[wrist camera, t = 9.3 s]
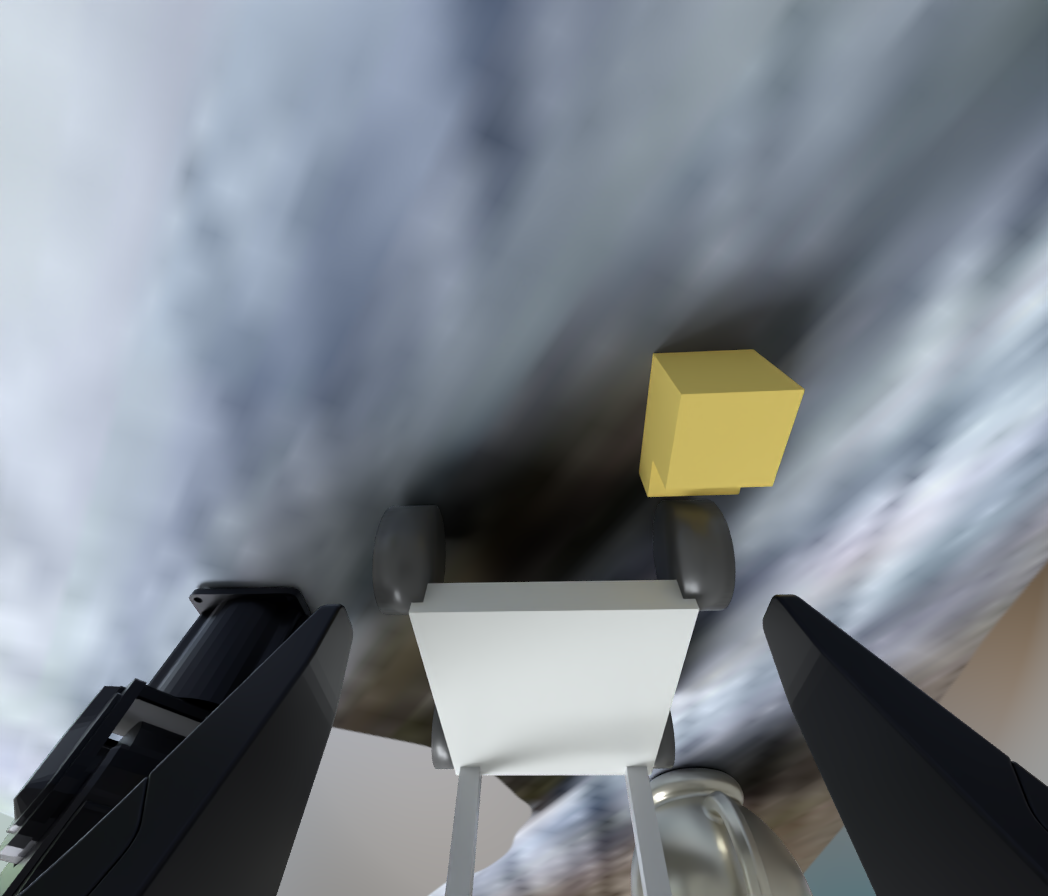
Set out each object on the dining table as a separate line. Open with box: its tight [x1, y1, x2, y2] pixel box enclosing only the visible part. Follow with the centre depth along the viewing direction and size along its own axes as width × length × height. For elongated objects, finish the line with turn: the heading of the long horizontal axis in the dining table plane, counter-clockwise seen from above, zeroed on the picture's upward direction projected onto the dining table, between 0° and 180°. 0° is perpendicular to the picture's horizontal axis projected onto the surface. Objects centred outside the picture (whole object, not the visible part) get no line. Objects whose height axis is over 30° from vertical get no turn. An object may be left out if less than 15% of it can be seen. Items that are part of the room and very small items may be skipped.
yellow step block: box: [639, 349, 805, 497], centre depth 17 cm, size 4×6×4 cm, turn 3°
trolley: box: [372, 500, 735, 896], centre depth 21 cm, size 21×15×14 cm
